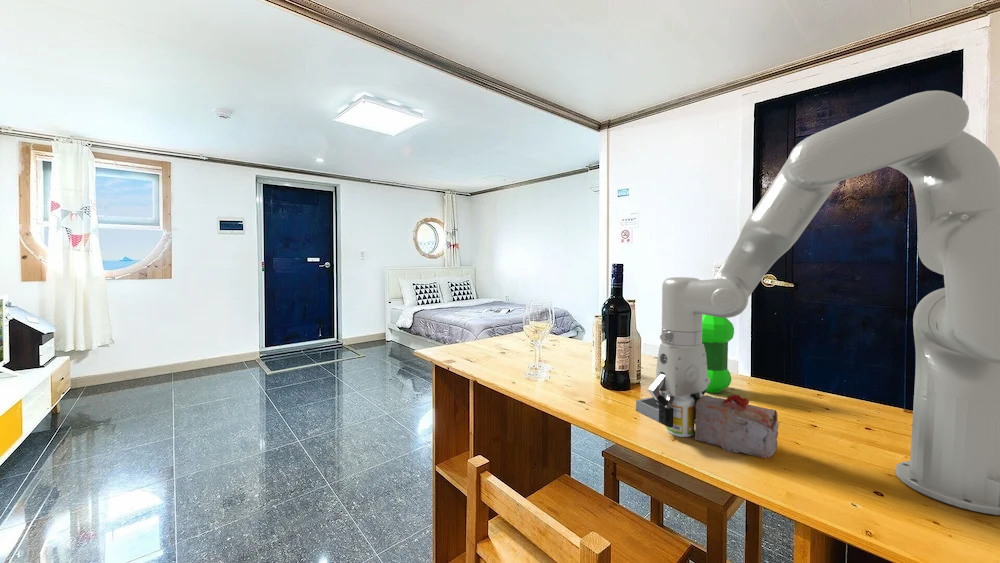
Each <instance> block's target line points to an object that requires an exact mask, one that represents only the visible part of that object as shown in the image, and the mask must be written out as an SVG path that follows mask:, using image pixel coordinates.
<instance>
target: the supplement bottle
mask: <svg viewBox="0 0 1000 563" xmlns="http://www.w3.org/2000/svg"><path fill="white" fill-rule="evenodd" d="M667 398H668V396H667ZM667 398H666V400H667ZM671 408H673V427H671V428H669V427H667V426H665V430H666V431H667V433H669V434H670V435H673V436H675V437H680V438H688V437H692V436H695V421H696V420H695V401H694V399H693V398H692V397H691V396H690V395H686V396H681V397H675V398H674V400H673V403H672V405H671Z"/></svg>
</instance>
